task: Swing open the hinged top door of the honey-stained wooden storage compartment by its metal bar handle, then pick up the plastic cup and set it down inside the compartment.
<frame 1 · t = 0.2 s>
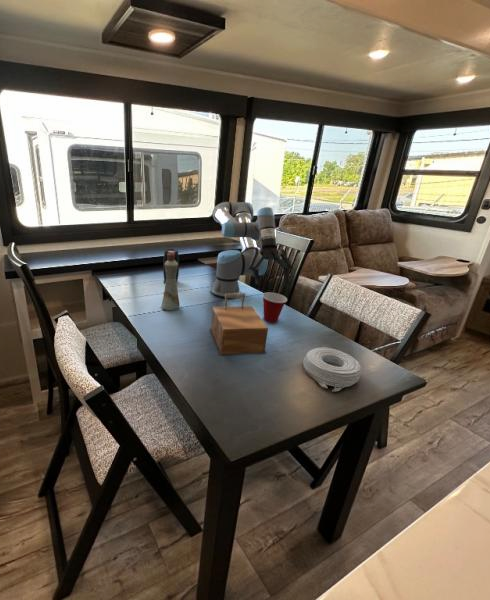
hand: (272, 284, 140), 16 cm above the table, tool tilted 35°, fingers open, 13 cm apart
plastic cup: (271, 320, 142), on the table
chest: (236, 340, 124), on the table
lid: (239, 309, 119), point 14 cm above the table, hinge at 0.0°
cable: (328, 374, 106), on the table
bottle: (170, 308, 152), on the table
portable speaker: (170, 282, 185), on the table
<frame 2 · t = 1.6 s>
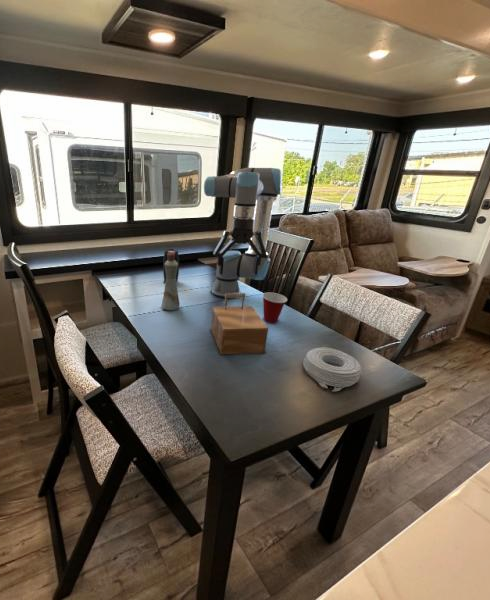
hand: (237, 273, 121), 26 cm above the table, tool pointing down, fingers open, 13 cm apart
nothing on the table moved.
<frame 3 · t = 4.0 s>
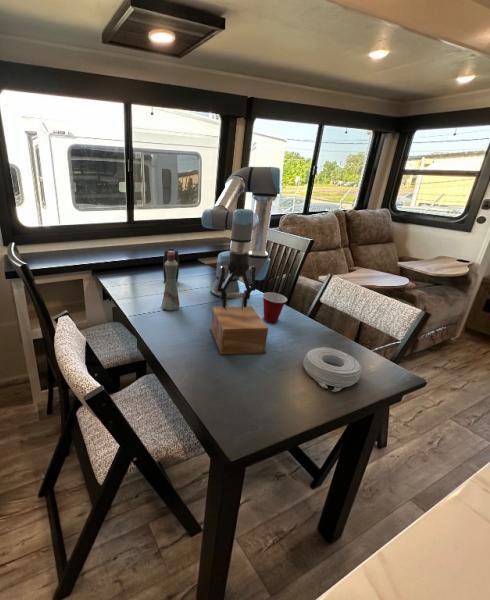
hand: (233, 306, 126), 12 cm above the table, tool pointing down, fingers closed on lid, 8 cm apart
lid: (239, 309, 119), point 14 cm above the table, hinge at 0.0°, touching gripper
everything else where it was.
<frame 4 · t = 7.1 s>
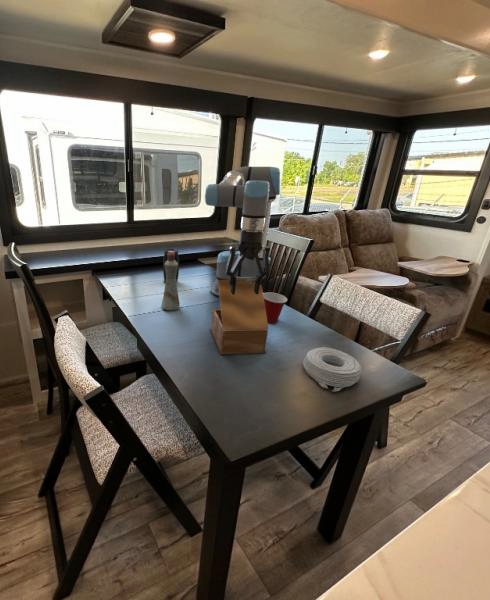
hand: (244, 293, 113), 22 cm above the table, tool pointing down, fingers closed on lid, 8 cm apart
lid: (245, 300, 112), point 20 cm above the table, hinge at 46.6°, touching gripper
everything else where it was.
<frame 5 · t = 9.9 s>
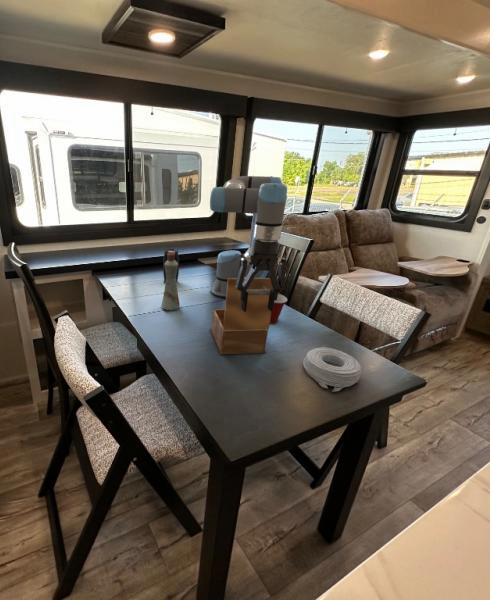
hand: (256, 309, 100), 22 cm above the table, tool pointing down, fingers closed on lid, 8 cm apart
lid: (252, 308, 105), point 20 cm above the table, hinge at 89.7°, touching gripper
everything else where it was.
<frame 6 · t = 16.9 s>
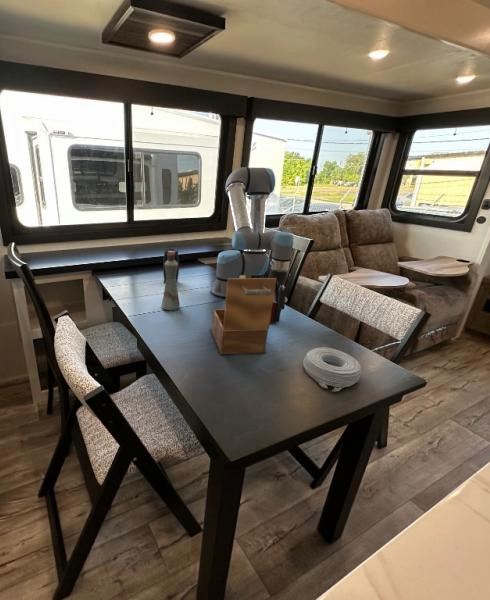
hand: (271, 316, 141), 2 cm above the table, tool pointing down, fingers closed on plastic cup, 9 cm apart
plastic cup: (270, 320, 142), on the table, touching gripper
lid: (252, 308, 105), point 20 cm above the table, hinge at 89.8°
everything else where it was.
when the fingers open (3 cm above the table, at t = 26.1 s): plastic cup stays where it is, resting on chest.
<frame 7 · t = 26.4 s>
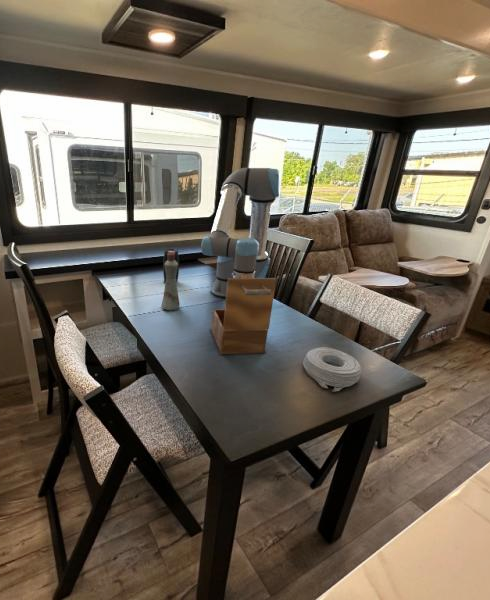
hand: (236, 334, 123), 3 cm above the table, tool pointing down, fingers open, 10 cm apart
plastic cup: (236, 339, 124), point 1 cm above the table, touching chest
lid: (252, 308, 105), point 20 cm above the table, hinge at 89.8°, touching gripper, hand
everything else where it was.
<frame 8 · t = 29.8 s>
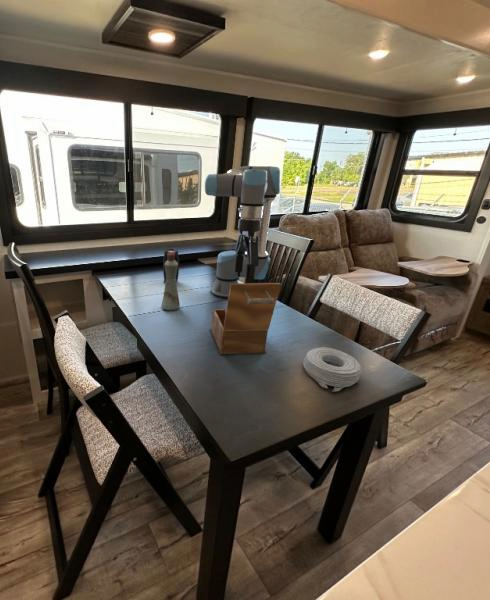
hand: (243, 277, 114), 27 cm above the table, tool pointing down, fingers open, 13 cm apart
lid: (253, 313, 103), point 19 cm above the table, hinge at 101.7°
everything else where it was.
at the end: lid at +102° (first picture: +0°); plastic cup inside the target area in the chest (0.0 cm from its centre), point 0.6 cm above the chest's base; plastic cup tilted 0° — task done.
